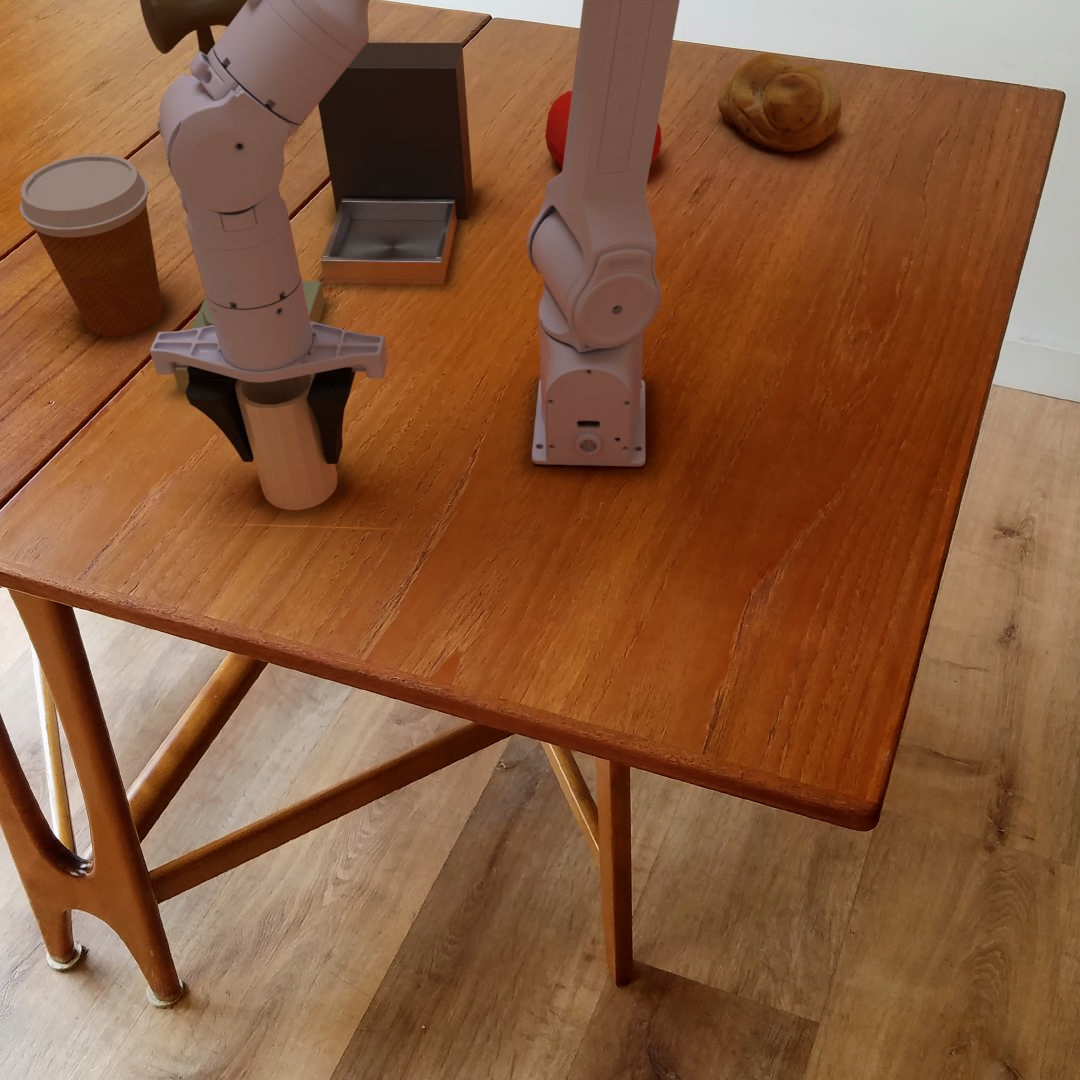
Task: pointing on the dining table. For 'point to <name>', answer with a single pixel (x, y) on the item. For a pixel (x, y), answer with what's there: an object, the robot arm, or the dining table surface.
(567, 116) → the tomato
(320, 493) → the beige hollow cylinder
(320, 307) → the switch block
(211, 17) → the kendama
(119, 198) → the disposable coffee cup
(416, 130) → the coffee machine
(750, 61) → the bread roll
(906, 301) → the dining table surface
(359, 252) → the pan
